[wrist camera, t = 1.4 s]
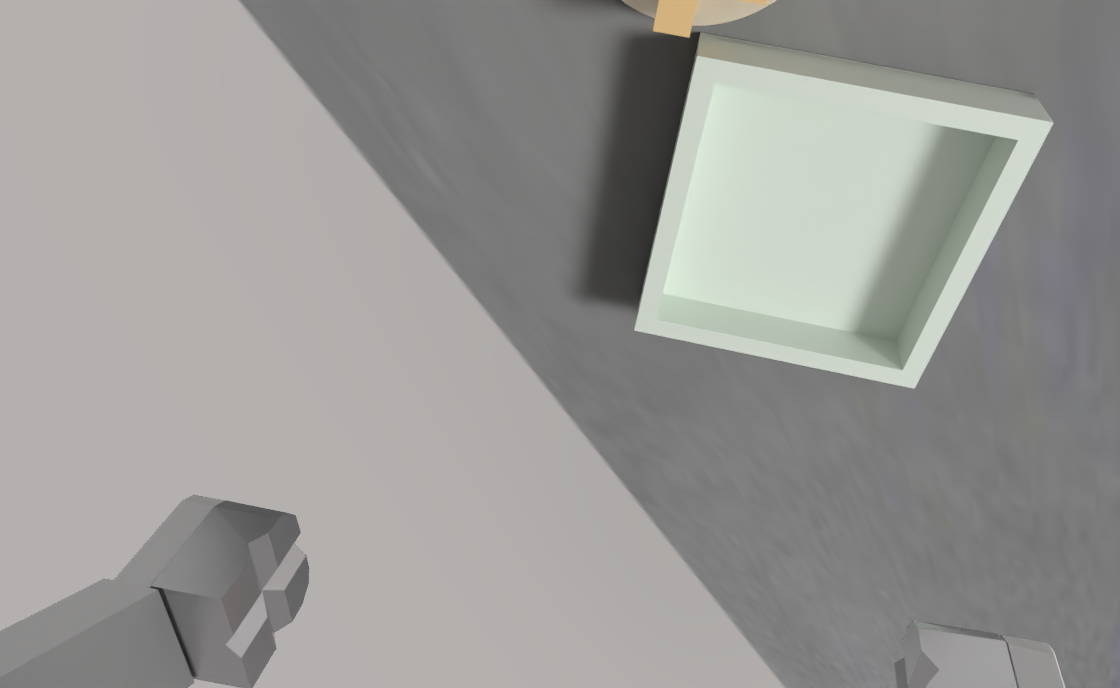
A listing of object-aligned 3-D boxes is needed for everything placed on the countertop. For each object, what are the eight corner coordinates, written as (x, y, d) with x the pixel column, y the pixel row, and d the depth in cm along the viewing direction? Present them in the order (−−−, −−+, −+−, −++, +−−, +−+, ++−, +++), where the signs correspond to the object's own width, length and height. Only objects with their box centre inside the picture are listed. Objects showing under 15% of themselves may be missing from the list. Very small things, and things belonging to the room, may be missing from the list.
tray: (700, 32, 31) (696, 55, 29) (1034, 94, 30) (1053, 122, 28) (640, 297, 38) (634, 330, 36) (905, 352, 38) (914, 388, 36)
